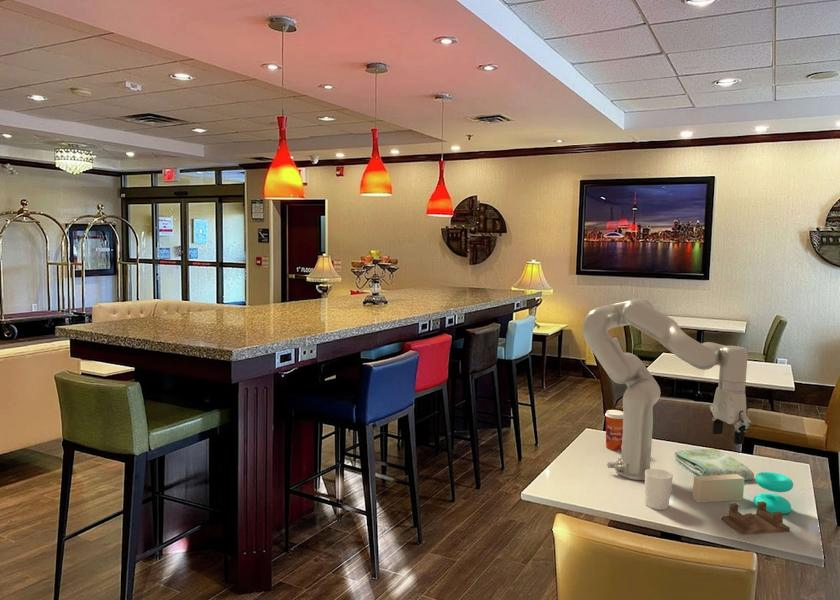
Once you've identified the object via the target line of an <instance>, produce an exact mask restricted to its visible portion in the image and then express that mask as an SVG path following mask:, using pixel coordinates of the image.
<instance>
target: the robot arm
mask: <svg viewBox="0 0 840 600" xmlns="http://www.w3.org/2000/svg"><path fill="white" fill-rule="evenodd" d="M582 323H583V324H582V328H581V329H582V330H581V331H582V337H583V339H584V342H585V343H586V345H587V347H588V348H589V349H590V351H591V352H592V353H593V354H594V356H595V357H596V360H597V361H598V362H599V364H600V365H601V366H602V368H603V369H604V371H605V372H606V374H607V375H608V377H609V378H610V379H611V381H612V382H614V383H616V384H619V385H623V384H625V385H626V386H627V388H626V389H625V392H624V393H623V397H622V409H623V411H622V412H623V436H622V447H621V456H620V457H619V458H618V459H617V460H616V461H615V462H614V461H613V462H612V461H608V462H607V464H606V466H607V468H608V469H614V470H615V472H616V474H617V475H619V476H621V477H623V478H625V479H628V480H629V479H630V480H633V481H645V470H647V469H651V457H652V456H651V455H652V444H653V443H652V442H653V426H654V425H653V424H654V415H653V411H654V410H653V406H655V404H656V403H657V402H658V401H659V399H660V397H661V394H662V393H661V388H660V385H659V384H658V382H657V381H656V379H655V377H653V375H652V374H651V372H650V371H649V370H648V368H647V367H646V365H645V364H644V363H643V361H642V360H641V359H640V358H639V356H637V355H635V354H633V353H631V352H624V351H623V350H622V348H621V346H620V345H618V343H617V342H616V340H615V339H614V338H613V337H612V336H611V335H610V334H609V331H610V330H611V329H615V328H620V327H624V326H632V327H634V328H635V329H636V330H638V331H641V332H643V333H644V334H645V335H647V336H649V337H651V338H652V339H654V340H656V341H658V342H659V343H660V344H661V345H662V346H663V347H664V348H666V349H667V350H668V351H669V352H670V353H672V354H673V355H674V356H676V357H678V358H679V359H680V360H682V361H684V362H686V363H687V364H689V365H690V366H692V367H694V368H696V369H698V370H704V371H707V370H710V369H712V368H714V366H719V374H718V384H717V385H718V386H717V387H716V389H715V392H714V396H713V397H714V398H713V403H712V404H711V405H709V410H710V415H711V421H712V423H713V424H712V434H713V435H722V434H723V430H724V428H723V427H724V423H726V424H729V425H733V426H734V429H735V431H734V433H733V434H734V435H733V444H734V445H744V443H745V433H746V432H747V430H749V428H750V426H751V424H752V421H751V419H750V418H749V416H748V415H747V397H746V382H747V369H748V368H747V367H748V358H749V357H748V356H749V355H748V354H749V352H748V350H747V349H746V348H745V347H743V346H737V345H725V344H719V343H716V342H712V341H711V342H710V341H706V342H702V343H701V342H699V341H697V340H696V339H694V338H692V336H691V337H690V336H689V335H688V334H687V333H685V332H684V330H682V329H681V328H680V326H679V323H677V321H675V320H674V319H673V318H671V317H669V316H668V315H666V314H664V313H663V312H660V311H658V310H657V309H655V308H654V306H653V303H651V301H649V300H648V299H645V298H641V297H640V298H639V297H638V298H634V299H630V300H626V301H621V302H617V303H611V304H606V305H602V306H598V307H595V308H594V309H592V310H590V311H589V312H588V313H587V315H586V317H584V320H583V322H582Z"/></svg>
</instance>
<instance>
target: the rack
mask: <svg viewBox="0 0 840 600" xmlns="http://www.w3.org/2000/svg"><path fill="white" fill-rule="evenodd" d="M766 504H767V503H765V502H758V503H757V507H756V512H755V513H751V512H749V513H745V514H743V513H741V512H739V507H740V506H739V504H738V503H736V502H734V503H732V502H731V503H729V506H728V515H722V516H720V521H722V522H724V523H725V524H726V525H728V526H729V527H730V528H732V529H733V530H735V531H736V532H738V533H739V534H740V535H751V534H765V533H779V532H780V533H781V532H790V530H791V528H790V526H788V525H786V524H785V523H784V521H783V520H784V519H783V517H784V514H783V513H782V512H780V511H779V512H774V514H772V513H770V512H769V511H767V510H766Z"/></svg>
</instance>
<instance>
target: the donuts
mask: <svg viewBox="0 0 840 600" xmlns="http://www.w3.org/2000/svg"><path fill="white" fill-rule="evenodd" d="M754 478H755V479H754V480H755V482H756V483H757V485H758V486H760V487H761V488H762V489H764V490H766V491H769V492H768V493H767V492H763V493H758V494H757V495H755V496H754V497H753V504H754V506H755V507H756V508H757V503H758V502H765V503H767V504H766V510H767V511H769V512H770V513H772V514H774V512H779V511H780V512H782V513H783V515H786V514H789V513H790V512H791V510H792V505H791V503H790V502H789V500H788V499H786V498H785V497H783V496H781V495H778V494H776V493H787V492H789V491H791V490H792V489H793V487H794V482H793V480H792V479H791V478H790V477H788V476H786V475H785V474H782V473H777V472H771V471H762V472H759V473H757V474H756V475H755V476H754ZM771 492H774V493H771Z"/></svg>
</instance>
